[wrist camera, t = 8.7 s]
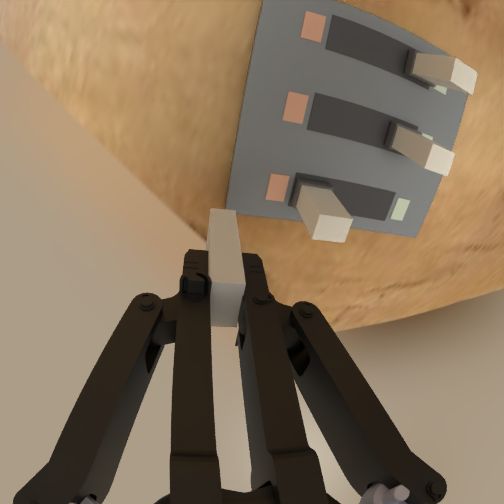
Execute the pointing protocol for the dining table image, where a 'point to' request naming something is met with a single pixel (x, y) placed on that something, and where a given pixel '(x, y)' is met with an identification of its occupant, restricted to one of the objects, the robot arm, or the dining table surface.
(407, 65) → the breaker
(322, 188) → the breaker
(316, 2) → the panel
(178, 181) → the dining table surface
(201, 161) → the dining table surface
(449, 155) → the breaker
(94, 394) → the robot arm
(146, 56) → the dining table surface
